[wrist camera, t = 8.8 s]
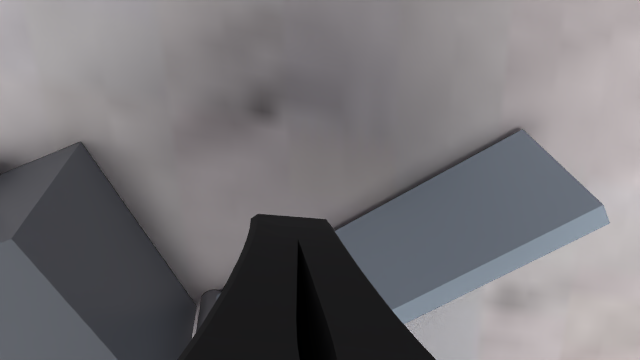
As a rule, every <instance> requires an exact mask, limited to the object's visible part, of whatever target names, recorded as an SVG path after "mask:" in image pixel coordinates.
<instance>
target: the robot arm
mask: <svg viewBox="0 0 640 360" xmlns="http://www.w3.org/2000/svg"><path fill="white" fill-rule="evenodd" d="M177 360H436V359H435V358H434V357H433V356H432V355H431V354H430V353H429V352H428V351H427V350H426V349H425V348H424V347H423V346H422V345H421V343H420V342H419V341H418V340H417V339H416V338H415V337H414V336H413V334H412V333H411V332H410V331H409V330H408V329H407V327H406V326H405V325H404V324H403V323H402V322H401V321H400V319H399V318H398V317H397V316H396V314H395V313H394V312H393V311H392V310H391V308H390V307H389V306H388V305H387V303H386V302H385V301H384V299H383V298H382V297H381V296H380V294H379V293H378V292H377V290H376V289H375V288H374V286H373V285H372V284H371V283H370V281H369V280H368V279H367V277H366V276H365V275H364V273H363V272H362V270H361V269H360V268H359V266H358V265H357V263H356V262H355V261H354V259H353V258H352V256H351V255H350V253H349V252H348V250H347V249H346V247H345V246H344V245H343V243H342V242H341V240H340V239H339V237H338V236H337V234H336V233H335V231H334V230H333V228H332V227H331V225H330V224H329V223H328V221H327V220H326V219H314V218H302V217H290V216H277V215H265V214H257V215H256V216H254V217H253V218H251V222H250V229H249V233H248V237H247V240H246V242H245V245H244V248H243V250H242V252H241V255H240V257H239V259H238V261H237V263H236V265H235V267H234V269H233V271H232V273H231V275H230V277H229V279H228V281H227V283H226V285H225V287H224V289H223V291H222V292H221V294H220V296H219V297H218V299H217V301H216V302H215V304H214V305H213V307H212V309H211V310H210V312H209V313H208V315H207V317H206V318H205V320H204V322H203V323H202V325H201V326H200V328H199V329H198V331H197V332H196V334H195V335H194V337H193V338H192V340H191V341H190V343H189V344H188V345H187V347H186V348H185V350H184V351H183V352H182V354H181V355H180V356H179V358H178V359H177Z"/></svg>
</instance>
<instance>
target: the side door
mask: <svg viewBox="0 0 640 360" xmlns="http://www.w3.org/2000/svg"><path fill="white" fill-rule="evenodd" d="M609 223H610V222H609V219H608V216H607V214H606V211H605V208H604V205H603V204H602V203H601V202H600V201H599V200H598V199H597V198H596V197H594V196H593V195H592V194H591V193H590V192H589V191H588V190H587V189H586V188H585V187H584V186H583V185H582V184H581V183H580V182H578V181H577V180H576V179H575V178H574V177H573V176H572V175H571V174H570V173H569V172H568V171H567V170H566V169H565V168H564V167H562V166H561V165H560V164H559V163H558V162H557V161H556V160H555V159H554V158H553V157H552V156H551V155H550V154H549V153H547V152H546V151H545V150H544V149H543V148H542V147H541V146H540V145H539V144H538V143H537V142H536V141H535V140H534V139H533V138H531V137H530V136H529V135H528V134H527V133H526V132H525V131H524V130H523V129H522V130H520V131H518V132H516V133H515V134H513V135H511V136H509V137H507V138H505V139H504V140H502V141H500V142H498V143H496V144H494V145H493V146H491V147H489V148H487V149H485V150H483V151H481V152H480V153H478V154H476V155H474V156H472V157H470V158H469V159H467V160H465V161H463V162H461V163H459V164H457V165H456V166H454V167H452V168H450V169H448V170H446V171H445V172H443V173H441V174H439V175H437V176H435V177H433V178H432V179H430V180H428V181H426V182H424V183H422V184H421V185H419V186H417V187H415V188H413V189H411V190H410V191H408V192H406V193H404V194H402V195H400V196H398V197H397V198H395V199H393V200H391V201H389V202H387V203H386V204H384V205H382V206H380V207H378V208H376V209H374V210H373V211H371V212H369V213H367V214H365V215H363V216H362V217H360V218H358V219H356V220H354V221H352V222H350V223H349V224H347V225H345V226H343V227H341V228H339V229H338V230H336V231H335V233H336V234H337V236H338V237H339V239H340V240H341V242H342V243H343V245H344V246H345V247H346V249H347V250H348V252H349V253H350V255H351V256H352V258H353V259H354V261H355V262H356V263H357V265H358V266H359V268H360V269H361V270H362V272H363V273H364V275H365V276H366V277H367V279H368V280H369V281H370V283H371V284H372V285H373V286H374V288H375V289H376V290H377V292H378V293H379V294H380V296H381V297H382V298H383V299H384V301H385V302H386V303H387V305H388V306H389V307H390V308H391V310H392V311H393V312H394V313H395V314H396V316H397V317H398V318H399V319H400V321H401V322H402V323H403V324H405V323H407V322H409V321H411V320H413V319H415V318H417V317H419V316H421V315H424V314H426V313H428V312H430V311H432V310H434V309H436V308H438V307H440V306H442V305H444V304H446V303H448V302H450V301H452V300H454V299H456V298H458V297H460V296H462V295H464V294H466V293H468V292H471V291H473V290H475V289H477V288H479V287H481V286H483V285H485V284H487V283H489V282H491V281H493V280H495V279H497V278H499V277H501V276H503V275H505V274H507V273H509V272H511V271H513V270H515V269H517V268H520V267H522V266H524V265H526V264H528V263H530V262H532V261H534V260H536V259H538V258H540V257H542V256H544V255H546V254H548V253H550V252H552V251H554V250H556V249H558V248H560V247H562V246H564V245H567V244H569V243H571V242H573V241H575V240H577V239H579V238H581V237H583V236H585V235H587V234H589V233H591V232H593V231H595V230H597V229H599V228H601V227H603V226H605V225H607V224H609ZM220 294H221V291H218V290H211V291H208V292H206V293H204V294H203V296H202V298H201V303H200V310H199V317H198V323H197V330H196V332H197V331H198V329H199V328H200V326H201V325H202V323H203V322H204V320H205V318H206V317H207V315H208V313H209V312H210V310H211V309H212V307H213V305H214V304H215V302H216V301H217V299H218V297H219V296H220Z"/></svg>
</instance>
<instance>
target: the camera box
mask: <svg viewBox="0 0 640 360" xmlns="http://www.w3.org/2000/svg"><path fill="white" fill-rule="evenodd" d="M195 314H196V305H195V304H194V302H193V301H192V300H191V298H190V297H189V295H188V294H187V292H186V291H185V290H184V288H183V287H182V285H181V284H180V282H179V281H178V280H177V278H176V277H175V275H174V274H173V272H172V271H171V270H170V268H169V267H168V265H167V264H166V263H165V261H164V260H163V258H162V257H161V255H160V254H159V253H158V251H157V250H156V248H155V247H154V245H153V244H152V243H151V241H150V240H149V238H148V237H147V235H146V234H145V233H144V231H143V230H142V228H141V227H140V226H139V224H138V223H137V221H136V220H135V218H134V217H133V216H132V214H131V213H130V211H129V210H128V208H127V207H126V206H125V204H124V203H123V201H122V200H121V198H120V197H119V196H118V194H117V193H116V191H115V190H114V189H113V187H112V186H111V184H110V183H109V181H108V180H107V179H106V177H105V176H104V174H103V173H102V171H101V170H100V169H99V167H98V166H97V164H96V163H95V161H94V160H93V159H92V157H91V156H90V154H89V153H88V152H87V150H86V149H85V147H84V146H83V144H82V143H81V142H79V143H77V144H74V145H72V146H69V147H67V148H64V149H62V150H59V151H57V152H55V153H52V154H50V155H47V156H45V157H42V158H40V159H37V160H35V161H32V162H30V163H28V164H25V165H23V166H20V167H18V168H15V169H13V170H10V171H8V172H5V173H3V174H1V175H0V360H177V359H178V358H179V356H180V355H181V354H182V352H183V351H184V350H185V348H186V347H187V345H188V344H189V343H190V341H191V339H192V332H193V326H194V320H195Z"/></svg>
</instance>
